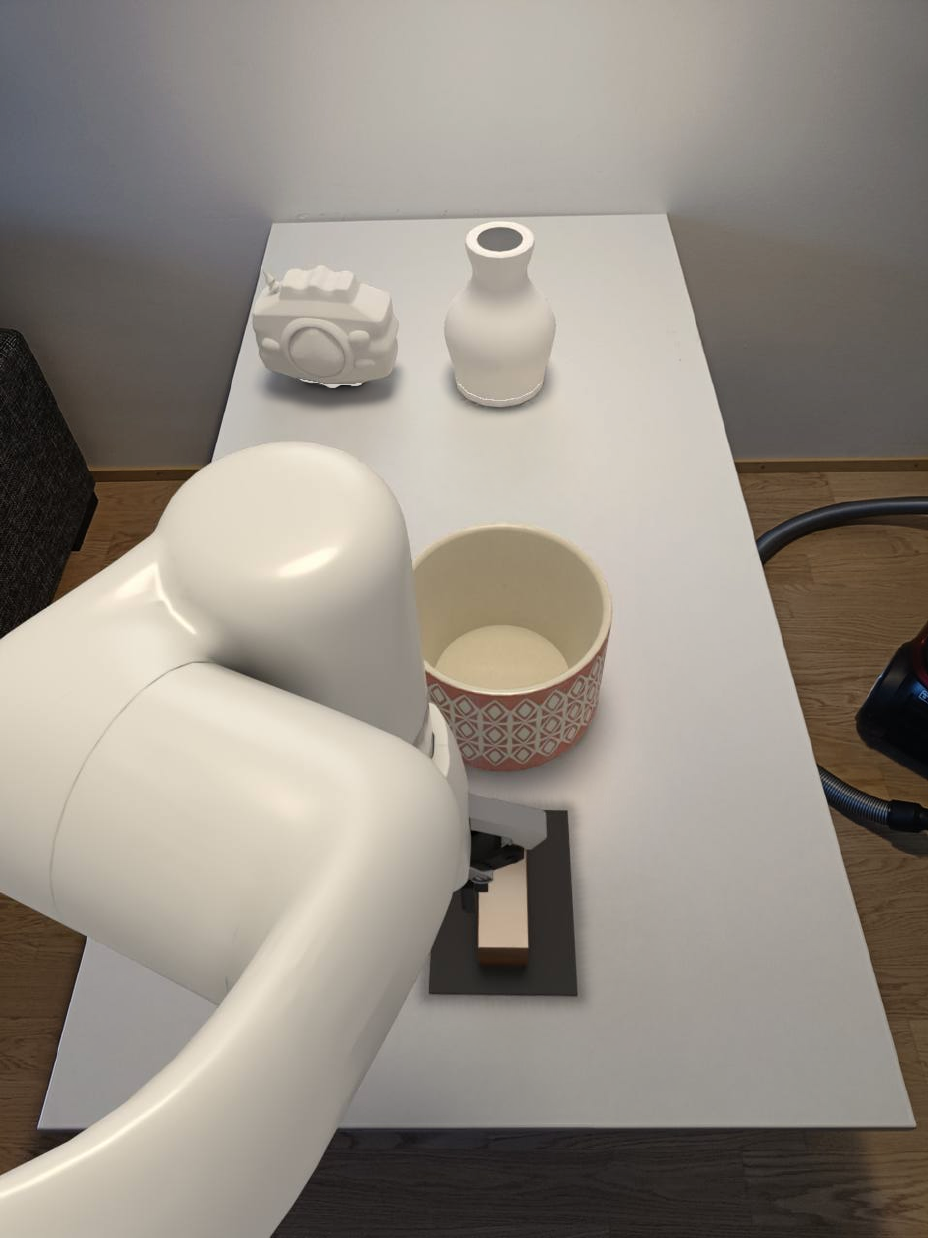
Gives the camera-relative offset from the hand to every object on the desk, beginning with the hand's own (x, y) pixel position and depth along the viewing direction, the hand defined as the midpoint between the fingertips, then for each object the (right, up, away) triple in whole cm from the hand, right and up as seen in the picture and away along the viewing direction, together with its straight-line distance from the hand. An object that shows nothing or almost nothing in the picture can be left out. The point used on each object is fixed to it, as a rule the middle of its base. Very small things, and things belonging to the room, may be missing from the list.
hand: (381, 885), depth 48 cm
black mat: (+8, -9, +28) cm, 31 cm away
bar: (+8, -9, +28) cm, 30 cm away
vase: (+9, +47, +71) cm, 85 cm away
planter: (+8, +7, +41) cm, 42 cm away
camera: (-13, +47, +71) cm, 86 cm away
